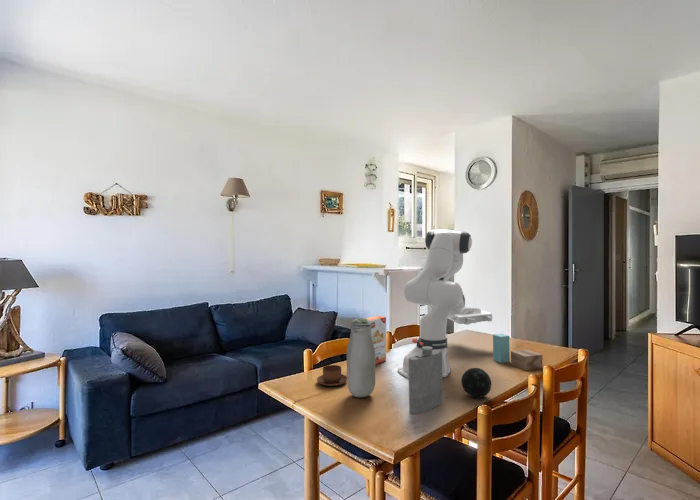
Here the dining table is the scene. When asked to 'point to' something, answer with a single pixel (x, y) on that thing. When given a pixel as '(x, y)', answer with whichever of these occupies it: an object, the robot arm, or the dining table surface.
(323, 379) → the cup and saucer
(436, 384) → the hip flask
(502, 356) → the teal block
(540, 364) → the walnut base
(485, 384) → the decorative stone
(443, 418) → the dining table surface
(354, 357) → the glass bottle
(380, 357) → the cracker box
